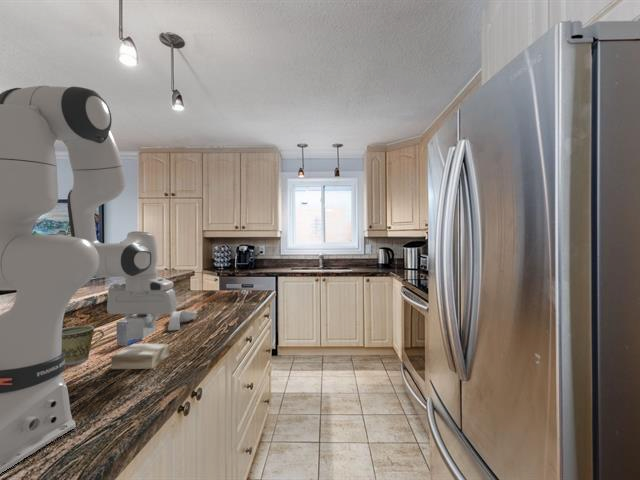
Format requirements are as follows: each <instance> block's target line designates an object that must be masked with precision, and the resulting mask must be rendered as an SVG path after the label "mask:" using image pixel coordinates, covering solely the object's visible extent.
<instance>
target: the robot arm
mask: <svg viewBox="0 0 640 480" xmlns="http://www.w3.org/2000/svg"><path fill="white" fill-rule="evenodd" d="M112 121H113V120H112V114H111V110H110V107H109V105H108V104H107V102H106V100H105V99H103V97H102V96H101V95H100V94H99V93H98V92H96V91H94V90H93V89H90V88H86V87H81V86H70V87H66V86H49V85H37V86H34V85H33V86H29V87H23V88H22V87H14V88H10V89H6V90H4V91H2V92H0V291H16V296H15V300H14V303H13V304H12V306H11V307H10V309H9V310H7V311H5V312H2V313H1V314H0V474H1V473H2V472H4V471H6V470H7V469H9V468H11V467H12V466H14V465H15V464H17V463H18V462H20V461H21V460H23V459H24V458H26V457H28V456H29V455H30V454H32V453H34V452H35V451H37V450H38V449H40V448H41V447H43V446H45V445H46V444H48V443H50V442H51V441H53V440H54V439H56V438H57V437H59V436H61V435H63V434H65V433H67V432H68V431H70V430H72V429H74V428H75V427H76V428H77V426H76V421H75V420H74V419H73V416H72V413H71V406H70V404H71V403H70V396H69V391H68V386H67V384H66V382H65V379H64V375H63V374H64V373H63V372H64V370H65V368H66V366H65V359H64V352H62V329H63V326H64V325H63V324H64V318H65V317H64V316H65V314H66V310H67V308H68V305H69V303H70V302H71V300H72V298H73V297H74V295H76V293H77V292H78V291H79V290H80V289H81V288H83V287H84V286H85V285H87V284H89V282H91V280H93V279H96V278H118V277H119V278H123V277H124V278H125V281H124V283H113V284H112V285H111V286H109V287H108V290H107V291H108V293H107V295H108V296H107V303H106V312H107V313H108V314H109V315H124V320H127V322H128V318H130V317H133V316H134V315H137V314H151V317H153V319H152V321H151V322H149V323H148V328H154V327H155V328H156V321H157V320H158V319H159V317H160V315H170V313H172V312H174V311H176V310H177V297H176V292H175V290H174V289H173V287H174V285H175V284H174V282H173V280H169V279H166V278H164V277H163V278H162V277H160V276H158V274H159V273H158V269H157V263H158V246H157V240H156V236H155V235H154V234H152V233H151V232H147V231H130V232H128V233H127V234H126V238H125V239H123V240H122V241H120V242H116V243H110V242H109V243H106V242H105V243H104V242H103V243H102V242H100V241H99V240H98V238H97V231H96V222H95V220H96V219H95V213H96V210H97V209H98V208H99V207H100V206H102V205H104V204H106V203H108V202H111V201H112V200H114V199H116V198H118V197H119V196H120V195H121V194H122V193H123V192H124V190H125V188H126V186H127V185H126V184H127V179H126V178H127V177H126V173H125V169H124V165H123V161H122V157H121V154H120V150H119V148H118V144H117V142H116V140H115V137H114V136H113V134H112V132H111V128H112ZM56 141H61V142H62V143H63V144H64V145H65V146H66V148H67V152H68V153H67V155H68V159H69V163H70V167H71V170H72V175H73V185H72V189H70V191H69V192H68V193H67V203H66V204H67V214H68V221H69V227H70V228H69V229H70V235H65V234H33V230H34V226H35V225H36V222H37V221H38V220H39V219H40V217H42V216H43V215H46V214H47V213H50V212H51V211H53V210H54V209H55V208H56V206H57V205H58V202H59V187H58V185H59V184H58V168H57V156H56V149H55V143H56ZM76 428H75V429H76ZM75 429H74V430H75ZM72 431H73V430H72ZM67 434H68V433H67ZM28 458H29V457H28ZM20 463H21V462H20ZM17 465H18V464H17ZM15 466H16V465H15ZM15 466H14V467H15ZM12 468H13V467H12ZM12 468H11V469H12ZM9 470H10V469H9ZM7 471H8V470H7ZM7 471H6V472H7ZM4 473H5V472H4ZM2 474H3V473H2ZM2 474H1V475H2Z"/></svg>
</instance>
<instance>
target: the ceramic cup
mask: <svg viewBox="0 0 640 480" xmlns="http://www.w3.org/2000/svg"><path fill="white" fill-rule="evenodd" d="M96 333H101V337H99V338H98V339H96V340H95V341H94V342H93V343H92V340H93V337H94V335H95V334H96ZM104 336H105V334H104V331H103V330H101V329H97V330H95V326H93V325H76V326H69V327H64V328H62V352H64V359H65V367H66V366H74V365H79V364H82V363H85V362H87V361H88V359H89V357H90V352H91V351H90V350H91V348H92V347H93V346H95V344H97V342H99V341H100V340H101V339H102V338H104Z"/></svg>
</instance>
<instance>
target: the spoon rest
mask: <svg viewBox="0 0 640 480" xmlns="http://www.w3.org/2000/svg"><path fill="white" fill-rule="evenodd" d="M197 313H198V311H196V310H195V311H194V310H192V311H191V310H182V309H181V310H179V311H176V310H175V311H174V312H172V313H170V314H169V315H170V319H169V321H168V327H167V330H168V331H180V330H181V325H180V323H186V322H187V321H188V322H191V320H193V319H194V318H195V317H196V316H197Z"/></svg>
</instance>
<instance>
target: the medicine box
mask: <svg viewBox="0 0 640 480" xmlns="http://www.w3.org/2000/svg"><path fill="white" fill-rule="evenodd" d="M115 326H116V327H115V328H116V346H118V347H119V346H120V347H129V346H131V345H132V344H137V343H138V342H140V341H142V340H144V338H129V335H128V322H127V320H126V319H124V320H123V319H122V320H120V321H117V322H116V324H115Z"/></svg>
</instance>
